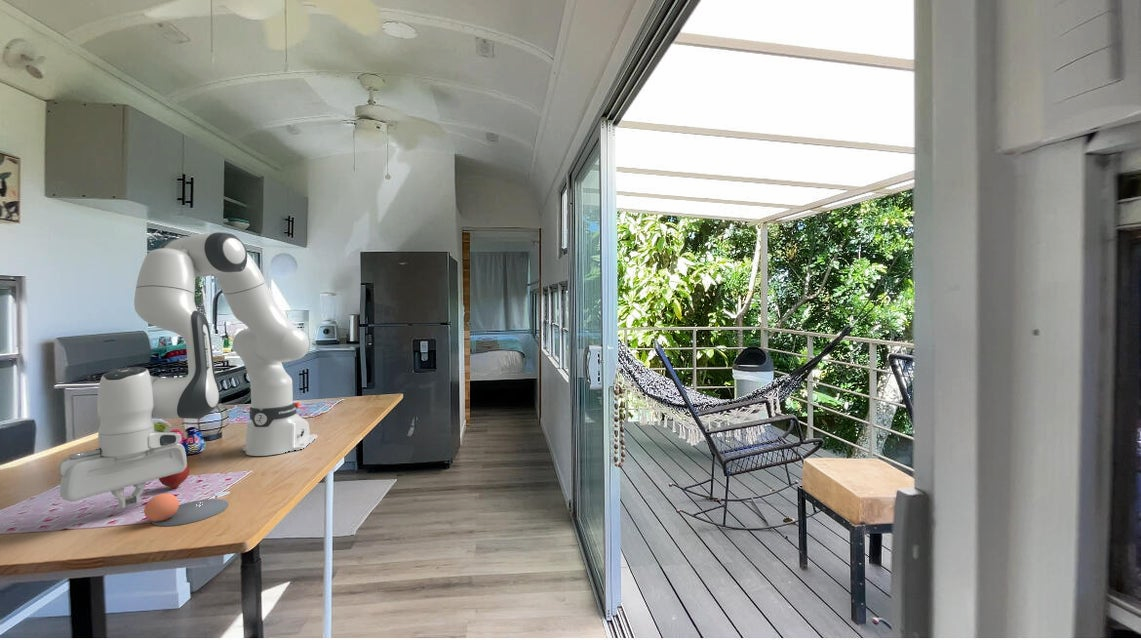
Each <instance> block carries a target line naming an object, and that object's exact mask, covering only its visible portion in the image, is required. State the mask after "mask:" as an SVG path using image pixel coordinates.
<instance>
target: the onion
mask: <svg viewBox="0 0 1141 640" xmlns="http://www.w3.org/2000/svg"><path fill="white" fill-rule="evenodd" d="M189 475H190V466H189V465H188V464H187V467H186V468H185V470H184V471H183V472H181V473H177V474H173V475H169V476H166V477H162V478H158V480H159V482H160V483H161V484H162V485H163V486H166V487H168V488H171V489H177V488H178V487H179V486H180V485H181V484H182V483H183V482H185V481H186V479H188V476H189Z"/></svg>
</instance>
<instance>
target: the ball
mask: <svg viewBox="0 0 1141 640" xmlns="http://www.w3.org/2000/svg"><path fill="white" fill-rule="evenodd" d="M179 502H180V501H179V499H178V497H176V496H175V495H174V494H171V493H160V494H158V495H155V496H153V497H151V499H149V500H148V501H147V503H146V504H145V506H144V510H143V513H144V515H145V517H146V518H147V519H148V520H149V521H150V522H152V521H155V522H159V521H164V520H167V519H169V518H170V517H172V516H173V515H174V514H175V513H176V512H177V510H178V507H179V505H180V503H179Z"/></svg>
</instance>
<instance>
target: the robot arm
mask: <svg viewBox="0 0 1141 640" xmlns="http://www.w3.org/2000/svg"><path fill="white" fill-rule="evenodd" d="M137 275H138V276H137V280H136V286H135V292H134V297H133V298H134V300H133V305H134V311H135V312H136V314H137V315H138V317H140V319H142V320H143V321H144V322H145V323H148V324H150V325H151V326H153V327H156V328H159V329H161V330H166V331H168V332H172V333H175V334H177V335H179V336H180V337H181V338H182V339H183V340H184V343H185V345H186V346H185V347H186V357H187V358H186V359H187V367H188V369H187V370H188V373H187V375H186V376H183V377H181V376H180V377H156V376H152V375H151V374H150V371H149V369H148V368H146V367H142V366H129V367H123V368H116V369H113V370H110V371H108V372H105V373H103V375H102V376H101V378H100V381H99V384H98V389H97V406H96V407H97V408H96V409H97V416H98V417H99V421H100V424H99V428H98V431H97V436H98V437H97V438H98V443H97V444H98V448H95V449H89V450H87V451H86V450H85V451H82V452H76V453H75V452H74V453H72V454H69V456H67V457H65V458H64V459H63V460H61V461H60V463H59V465H58V469H59V470H58V471H59V473H58V474H59V475H60V477H61V480H60V481H61V482H60V487H59V496H60V497H61V498H62V499H63V500H66V501H68V502H75V501H79V500H83V499H86V498H90V497H95V496H98V495H101V494H105V493H108V492H110V493H111V494H112V496H114V497H115V499H117V500H118V508H119V509H125V508H127V507H132V506H134V505H139V504H140V496H141V495H142V494H143V491H144V490H145V488H146V486H147V484H146V483H147V482H149V481H154V480H159V478H162V477H166V476H169V475H173V474H177V473H181V472H183V471H184V470H185V468H186V467H187V465H188V461H187V452H186V449H185V446H184V445H183V444H182V443H181V442H182V434H180V433H178V432H175V431H170V430H169V431H168V430H160V429H156V430H155V423H154V420H163V419H164V420H165V419H166V420H167V419H193V420H194V419H195V420H198V419H203V418H204V417H206V416H207V415H209V414H210V413H211V412H212V411H214V410H215V408H217V406H218V404H219V402H220V391H219V387H218V382H217V378H216V374H215V364H214V353H213V346H212V345H213V344H212V337H211V331H210V325H209V321H208V319H207V317H206V315H205V314H204V313H202V312H200V311H199V310H198V309H197V305H196V302H195V294H196V293H195V291H196V279H197V278H198V277H201V278H202V277H209V276H214V277H215V278H216V279H217V282H218V284H219V287H220V290H221V291H222V293H223V296H224V298H225V300H226V302H227V305H228V306H229V308H230V310H231V312H232V315H233V316H234V317H235V318H236V320H238V321H239V322H241V323H243V324H244V326H246V327H247V328H245V329H242V330H240V331H238V332H237V333H236V335H235V336H234V337H233V341H232V347H233V350H234V352H235V353H236V355H238V356H239V358H240V359H241V361H242V362H243V364H244V367H245V369H246V372H247V376H248V378H249V384H250V400H251V401H250V402H251V406H250V407H249V411H248V412H249V414H248V415H249V419H250V422H249V423H248V424H247V426H246V434H245V435H246V436H245V437H246V438H245V445H244V446H242V451H243V452H245V454H246V455H248V456H250V457H251V456H252V457H254V456H255V457H267V456H273V455H275V456H276V455H281V454H285V452H286V453H288V451H290V452H295V451H294V450H296V451H301V450H300V449H302V450H304V449H305V448H307V447H308V446H309V445H310V444H311V443H313V442H314V441H315V440H316V439H318V438H319V435H318V434H317V433H310V432H311V431H310V424H309V422H308V420H306V419H305V418H303V417H302V416H300V415H299V414H298V412H297V409H300V408H301V406H302V403H301V402H300V401H297V402H296V401H293V400H294V396H293V395H294V394H293V390H294V389H293V387H294V386H293V379H292V377H291V376H290V375H289V374H288V372H286V369H285V368H284V365H283V364H282V363H289V362H293V361H297V360H301V359H303V357H305V355H307V353H308V351H309V348H310V338H309V336H308V335H307V333H305V332H304V331H303V330H301V329H300V328H298V327H297V326H296V325H294V324H293V323H292V321H290V320H289V318H288V317H286V314H284V312H283V311H282V310H281V309H280V307H279V306H278V304H277V303H276V300H275V299H274V297H273V295H272V293H271V290H270V288H269V286H268V284H267V282H266V279H265V278H264V275H263V274H262V272H261V270H260V268H259V266H258V265H257V263H256V262H255V260H254V259H253V257H252V256H251V255H250V254H249V253H248V252H247V248H246V246H245V245H244V242H243V241H241V240H240V238H239V237H237V236H236V235H234V234H232V233H229V232H219V231H217V232H213V233H199V234H193V235H189V236H184V237H181V238H174V239H173V238H172V239H170V240H168V241H165V242H164V243H162V244H161V245H160V246H158V248H156V249H153V250H151V251H149V252H147V254H146V255H145V257H144V260H143V262H142V264H141V265H140V269H139V272H138V274H137ZM153 419H154V420H153ZM314 439H315V440H314ZM313 440H314V441H313ZM312 441H313V442H312ZM309 443H310V444H309ZM308 444H309V445H308ZM307 445H308V446H307ZM306 446H307V447H306ZM303 448H304V449H303ZM131 486H133V488H135V489H134V490H133V492H132V494H131V495H129V496H125V497H124V495H123V494H122V493H125V488H128V487H131Z"/></svg>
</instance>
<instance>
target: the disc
mask: <svg viewBox="0 0 1141 640" xmlns="http://www.w3.org/2000/svg"><path fill="white" fill-rule="evenodd" d="M199 502H201V504H200V503H199ZM202 502H203V503H202ZM196 504H197V505H199V504H200V505H201V506H200V507H199V506H197V507H196ZM202 504H203V505H202ZM228 506H229V502H228V501H227V500H226V499H219V498H210V499H209V498H208V499H200V500H195V501H189V502H185V503H181V504H179V507H178V510H177V512H176V513H175V514H174V515H173V516H172V517H170V518H169V519H167V520H164V521H159V522H155V521H151V523H152V525H154V526H158V527H175V526H182V525H189V524H191V523H196V522H199V521H203V520H206V519H210V518H213V517H214V516H216V515H219V514H220V513H222V512H224V511H225V510H226V509H227V508H228Z"/></svg>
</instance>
